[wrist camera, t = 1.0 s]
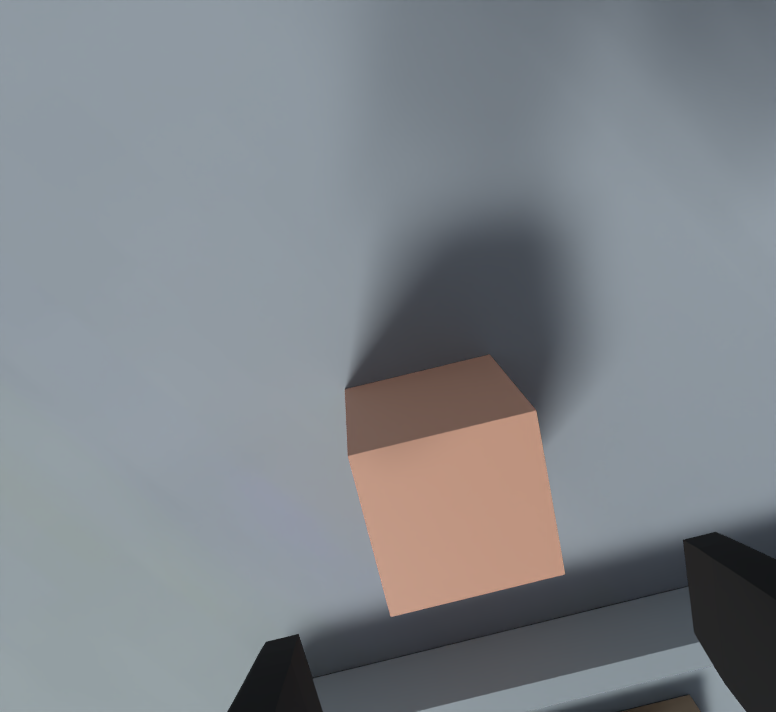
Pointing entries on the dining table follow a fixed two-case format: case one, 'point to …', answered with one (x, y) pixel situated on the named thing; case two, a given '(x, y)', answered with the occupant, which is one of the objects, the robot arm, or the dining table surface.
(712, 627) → the robot arm
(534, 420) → the terracotta block
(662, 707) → the walnut pad
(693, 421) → the dining table surface
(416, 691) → the low wall
